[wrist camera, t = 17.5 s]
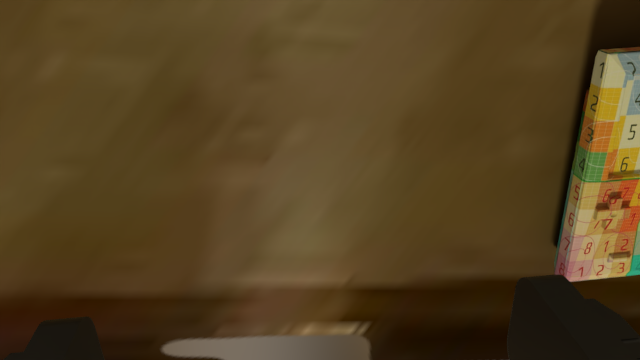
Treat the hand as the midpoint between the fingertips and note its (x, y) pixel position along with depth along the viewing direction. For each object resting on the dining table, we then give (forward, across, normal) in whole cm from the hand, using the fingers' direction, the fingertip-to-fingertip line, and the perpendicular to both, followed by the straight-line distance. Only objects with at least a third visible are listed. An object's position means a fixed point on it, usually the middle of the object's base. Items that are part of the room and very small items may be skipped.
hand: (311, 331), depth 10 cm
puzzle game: (+31, -29, +12) cm, 44 cm away
